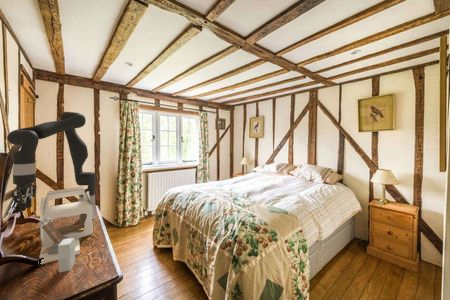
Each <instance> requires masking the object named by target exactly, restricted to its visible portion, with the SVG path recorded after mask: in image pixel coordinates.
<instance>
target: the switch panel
mask: <svg viewBox="0 0 450 300" xmlns="http://www.w3.org/2000/svg"><path fill="white" fill-rule="evenodd" d="M64 239H68V236H65V237H64ZM74 241H75V256H77V255H80V254H81V246H80V238H78V239H74ZM59 244H60V243H59ZM59 244H55V243H54V244H52V245H48V246H44V247H43V246H42V247H41V248H40V249H41V250H40V254H39V257H38V259H39V258H42V257H44V259H42V260H41V263H40V264H41V265H44V264H49V263H51V262H54V261H58V245H59Z"/></svg>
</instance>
